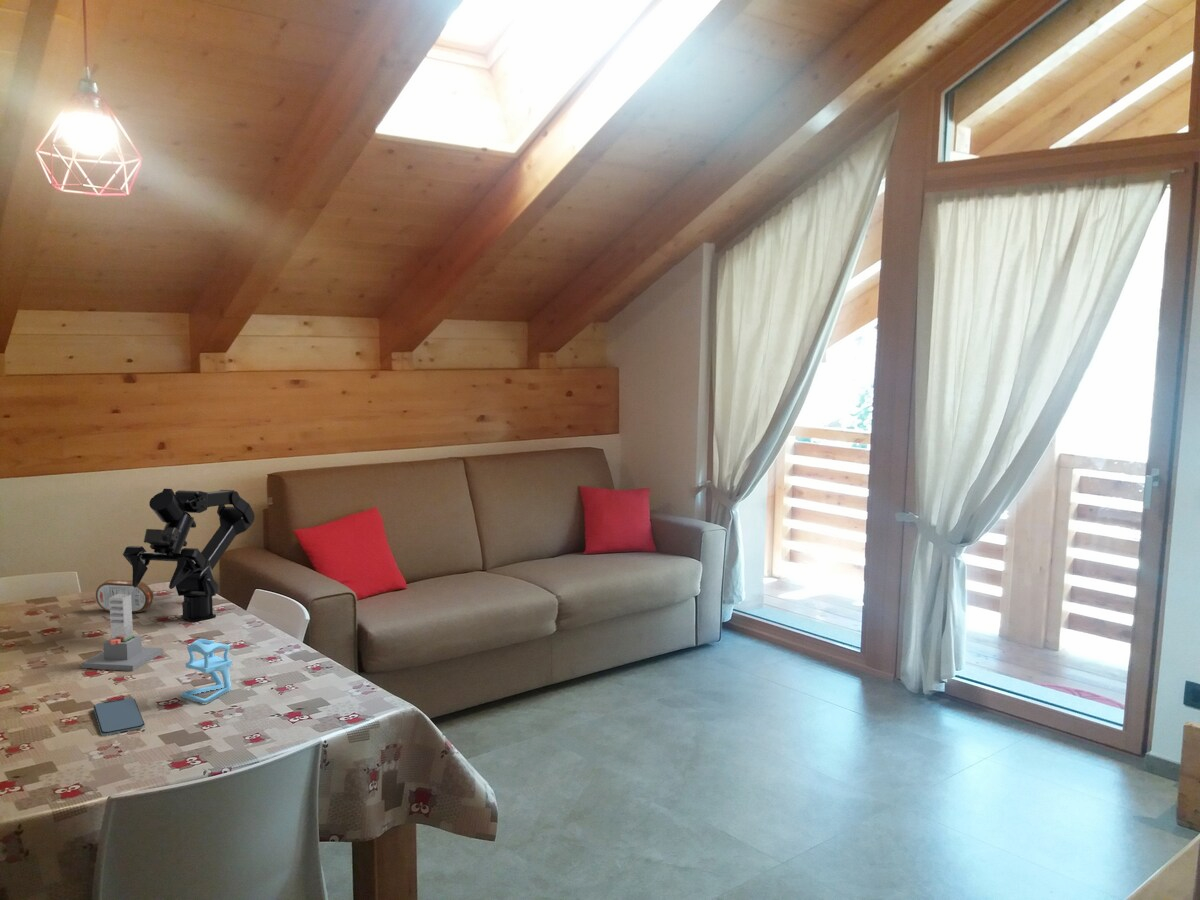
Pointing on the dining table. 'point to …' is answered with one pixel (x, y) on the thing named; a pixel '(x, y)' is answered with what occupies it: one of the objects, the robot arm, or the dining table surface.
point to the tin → (139, 595)
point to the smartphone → (118, 716)
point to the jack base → (122, 655)
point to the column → (121, 617)
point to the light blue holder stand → (209, 668)
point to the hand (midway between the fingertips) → (152, 587)
